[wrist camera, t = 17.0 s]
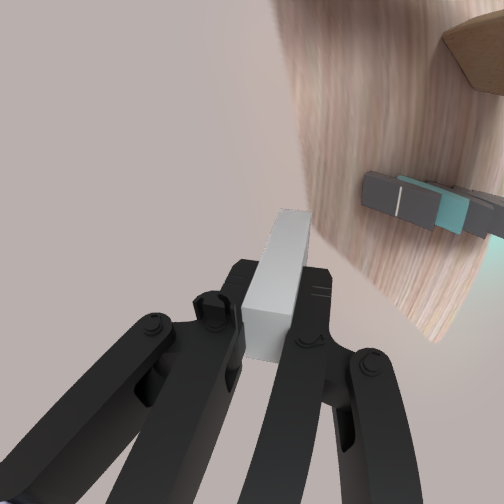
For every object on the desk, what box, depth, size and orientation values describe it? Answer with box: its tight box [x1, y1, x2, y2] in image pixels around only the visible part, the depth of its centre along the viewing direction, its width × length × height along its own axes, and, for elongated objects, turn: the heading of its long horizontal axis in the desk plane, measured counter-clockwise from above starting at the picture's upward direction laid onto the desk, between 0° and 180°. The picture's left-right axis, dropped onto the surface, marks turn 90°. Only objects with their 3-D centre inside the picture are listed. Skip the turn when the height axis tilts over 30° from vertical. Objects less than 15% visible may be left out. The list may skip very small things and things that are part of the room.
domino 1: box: [361, 171, 442, 231], centre depth 36 cm, size 5×2×12 cm
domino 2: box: [396, 175, 470, 235], centre depth 35 cm, size 5×2×12 cm
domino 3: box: [427, 181, 494, 239], centre depth 34 cm, size 5×2×12 cm
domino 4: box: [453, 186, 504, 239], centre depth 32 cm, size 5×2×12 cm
